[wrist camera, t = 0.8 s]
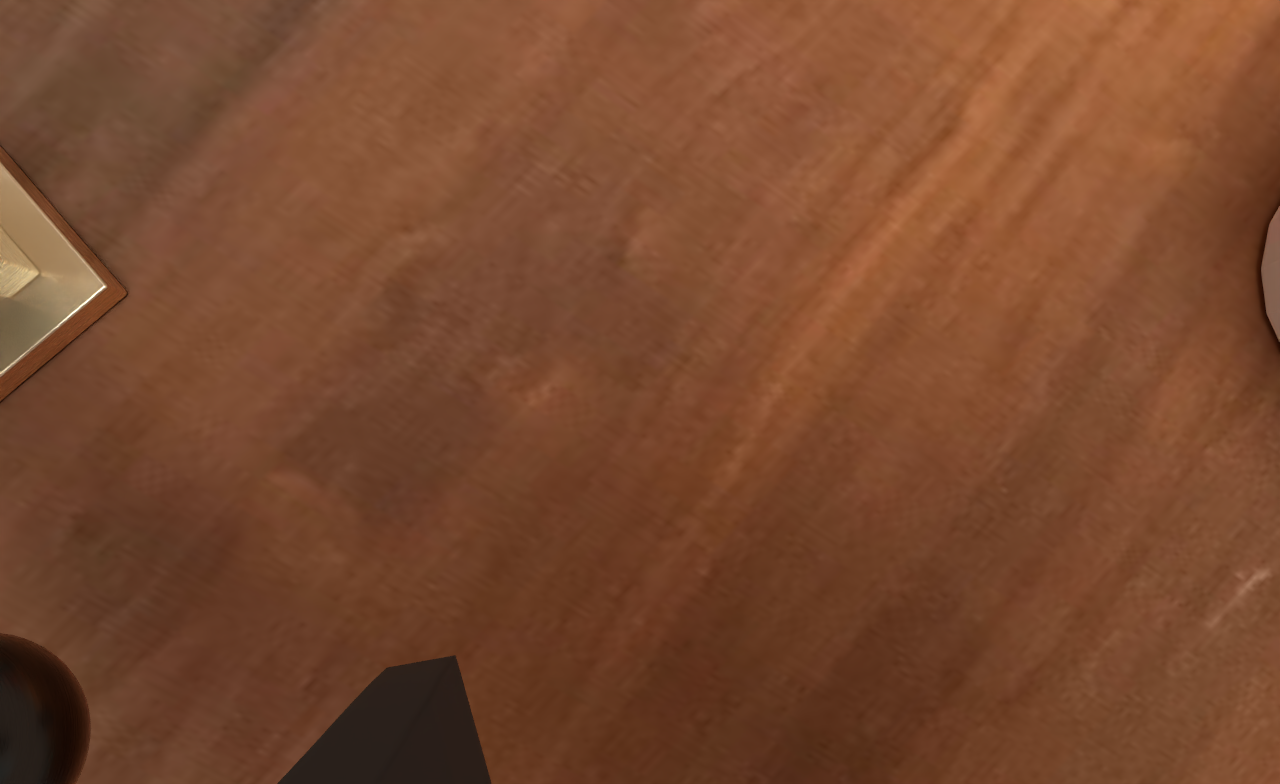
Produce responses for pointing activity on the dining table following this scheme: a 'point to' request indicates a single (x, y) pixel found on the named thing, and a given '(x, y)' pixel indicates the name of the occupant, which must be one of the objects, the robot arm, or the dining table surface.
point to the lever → (40, 716)
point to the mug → (1272, 273)
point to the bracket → (42, 280)
